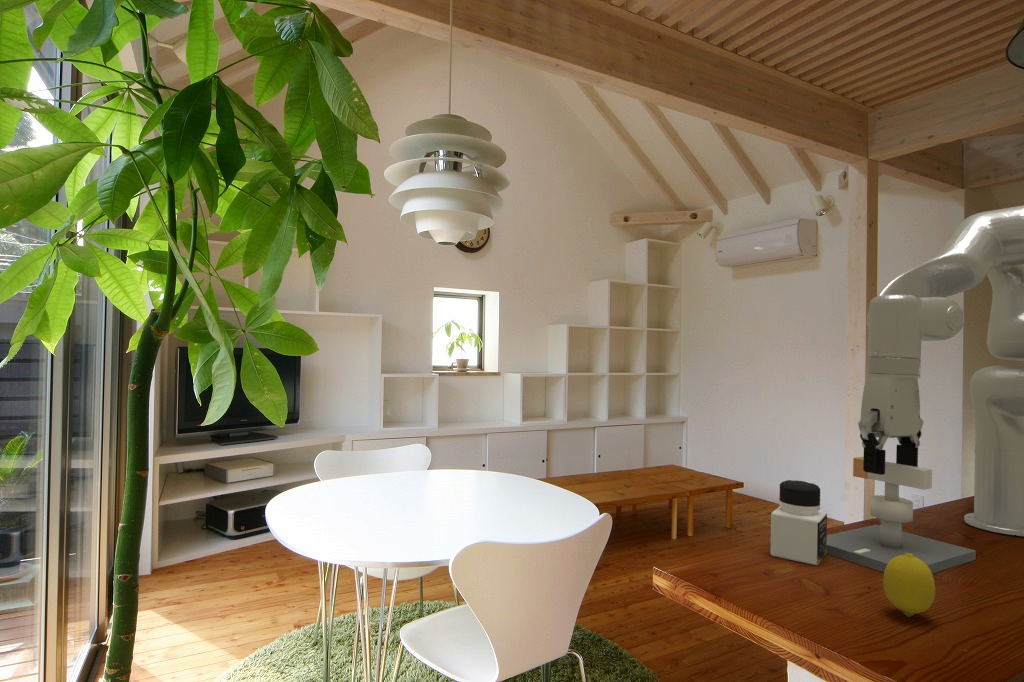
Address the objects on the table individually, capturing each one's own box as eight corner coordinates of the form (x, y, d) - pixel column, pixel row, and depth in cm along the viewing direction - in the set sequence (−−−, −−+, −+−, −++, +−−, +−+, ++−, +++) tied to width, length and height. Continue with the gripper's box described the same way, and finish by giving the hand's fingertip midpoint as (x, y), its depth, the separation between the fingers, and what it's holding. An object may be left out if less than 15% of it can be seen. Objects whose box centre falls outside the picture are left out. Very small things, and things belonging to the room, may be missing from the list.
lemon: (874, 605, 79) (875, 544, 80) (919, 608, 79) (920, 547, 79) (896, 624, 74) (898, 559, 74) (944, 627, 73) (945, 562, 73)
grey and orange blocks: (846, 510, 104) (847, 458, 104) (866, 506, 107) (867, 456, 107) (917, 528, 94) (918, 471, 94) (937, 523, 97) (937, 468, 97)
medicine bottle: (818, 566, 94) (819, 489, 94) (769, 556, 98) (771, 482, 98) (826, 554, 99) (828, 481, 99) (780, 545, 104) (781, 475, 104)
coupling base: (876, 532, 112) (876, 500, 112) (975, 559, 98) (976, 523, 98) (809, 547, 102) (809, 512, 102) (909, 580, 88) (909, 539, 89)
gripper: (898, 368, 108) (895, 464, 108) (840, 366, 100) (837, 470, 99) (945, 370, 102) (942, 472, 101) (887, 368, 93) (884, 479, 93)
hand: (890, 471), depth 100 cm, fingers open, 9 cm apart
